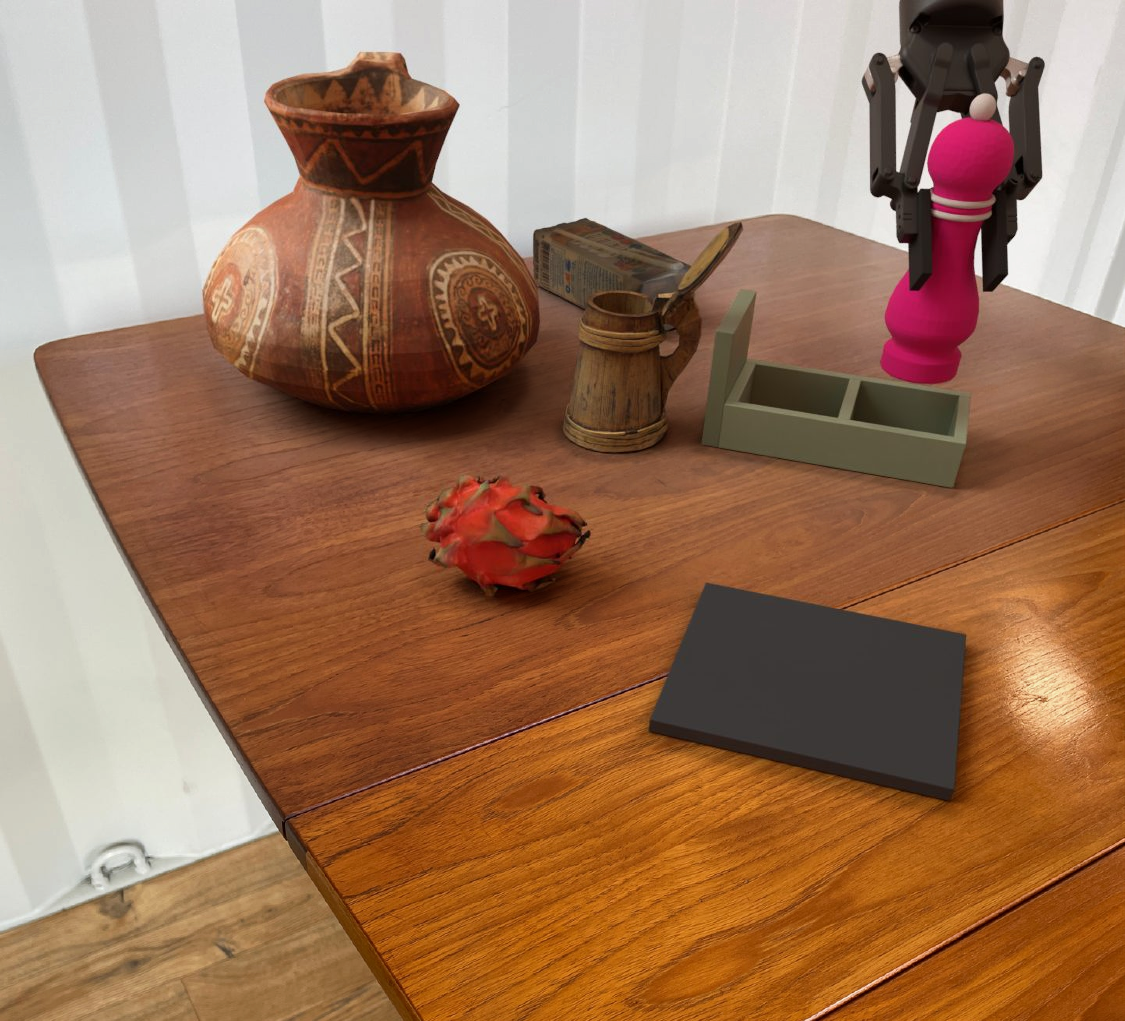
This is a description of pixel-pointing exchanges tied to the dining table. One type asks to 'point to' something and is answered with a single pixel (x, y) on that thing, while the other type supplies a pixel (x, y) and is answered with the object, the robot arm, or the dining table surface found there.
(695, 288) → the wooden mug
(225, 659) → the dining table surface
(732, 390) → the spice rack
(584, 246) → the beverage carton
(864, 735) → the mat
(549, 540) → the dragon fruit
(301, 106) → the jug
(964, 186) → the pepper mill
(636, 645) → the dining table surface
